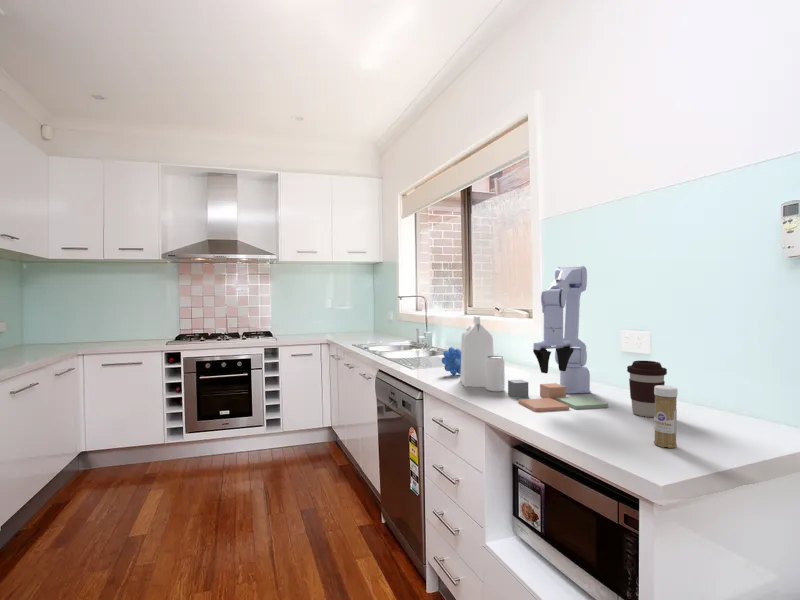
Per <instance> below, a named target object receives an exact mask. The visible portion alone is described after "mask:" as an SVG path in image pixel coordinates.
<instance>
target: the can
mask: <svg viewBox="0 0 800 600" xmlns="http://www.w3.org/2000/svg"><path fill="white" fill-rule="evenodd" d="M505 375H506V374H505V360H504V357H503V356H501V355H494V356H488V358H487V360H486V387H485V388H486V390H487V391H488V392H492V393H493V392H495V393H498V392H504V391H505V385H506V384H505V382H506V381H505V380H506V379H505Z"/></svg>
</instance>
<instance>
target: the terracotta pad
mask: <svg viewBox="0 0 800 600" xmlns="http://www.w3.org/2000/svg"><path fill="white" fill-rule="evenodd" d="M517 402H518V404H519V405H521V406H524V407H525V408H527V409H529V410H531V411H533V412H535V413H537V412H551V411H565V410H566V411H568V410H570V407H569V406H568V405H565V404H563V403H561V402H558V401H556V400H554V399H551V398H544V397H541V398H528V399H527V398H526V399H518V401H517Z"/></svg>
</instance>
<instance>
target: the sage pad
mask: <svg viewBox="0 0 800 600" xmlns="http://www.w3.org/2000/svg"><path fill="white" fill-rule="evenodd" d="M556 401H558V402H561V403H563V404H565V405H568V406H569V408H571V409H574V410H582V409H583V410H584V409H599V408H601V409H602V408H609V404H608V403H607V402H604V401H601V400H599V399H596V398H593V397H590V396H587V395H580V396H579V395H577V396H566V397H558V398H556Z"/></svg>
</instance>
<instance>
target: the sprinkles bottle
mask: <svg viewBox="0 0 800 600" xmlns="http://www.w3.org/2000/svg"><path fill="white" fill-rule="evenodd" d="M654 394H655V416H654V417H653V419H654V421H653V422H654V425H653V426H654V429H653V430H654V440H653V443H654V445H655V444H656V445H655V446H657V445H658V446H657V447H660V446H661V448H664V447H668V448H667V449H675V448H677V446H678V445H677V428H678V427H677V426H678V425H677V423H678V422H677V417H678V416H677V415H678V414H677V409H678V408H677V400H678V399H677V398H678V388H677V386H676V387H675V386H672V385H666V384H664V385H657V386H655V387H654ZM674 447H675V448H674Z"/></svg>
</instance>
